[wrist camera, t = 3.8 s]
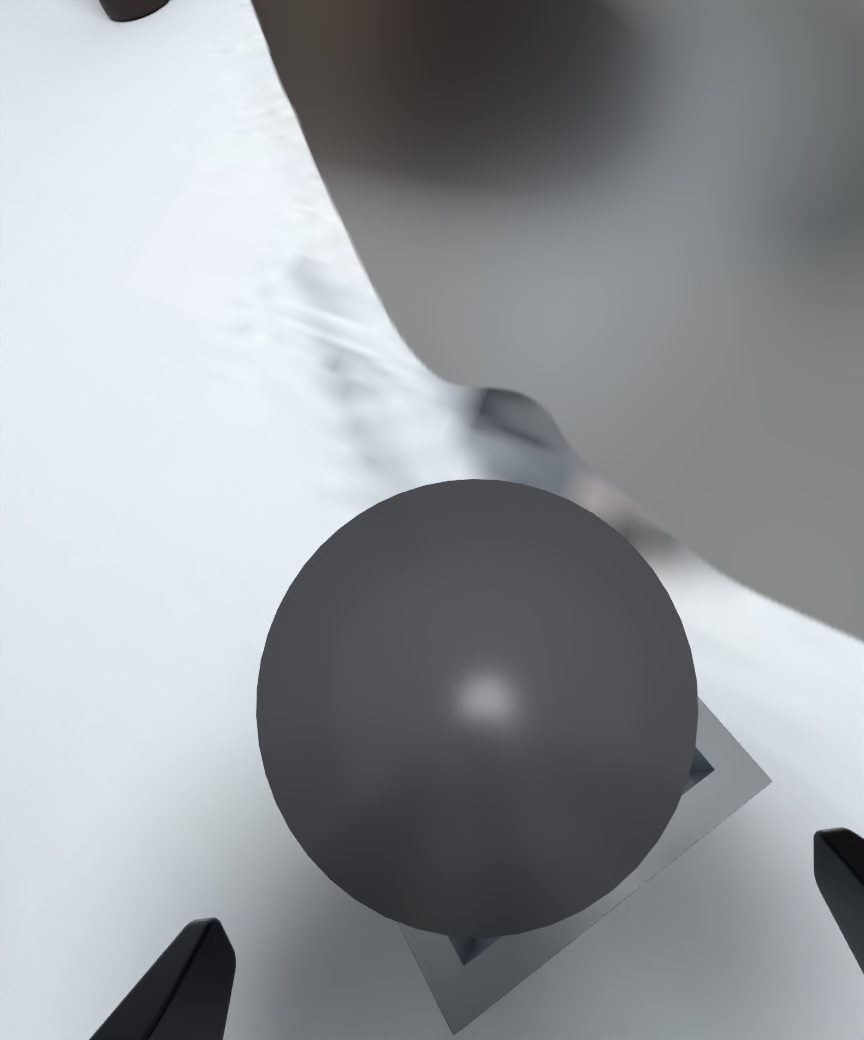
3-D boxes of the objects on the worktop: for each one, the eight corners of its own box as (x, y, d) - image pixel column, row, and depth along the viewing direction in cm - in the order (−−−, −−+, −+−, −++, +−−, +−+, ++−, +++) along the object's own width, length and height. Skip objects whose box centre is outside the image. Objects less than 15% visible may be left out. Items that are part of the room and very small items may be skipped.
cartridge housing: (467, 995, 16) (453, 1036, 14) (312, 694, 21) (279, 680, 18) (737, 782, 17) (772, 781, 15) (532, 541, 22) (531, 507, 19)
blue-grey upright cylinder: (481, 894, 17) (390, 1066, 7) (375, 707, 20) (197, 621, 10) (651, 764, 18) (811, 733, 7) (524, 602, 21) (508, 415, 11)
